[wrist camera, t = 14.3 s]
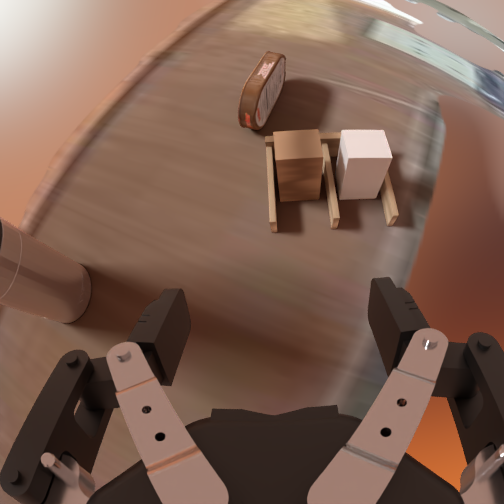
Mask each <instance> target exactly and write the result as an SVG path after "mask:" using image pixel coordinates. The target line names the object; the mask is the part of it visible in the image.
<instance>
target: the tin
mask: <svg viewBox="0 0 504 504" xmlns="http://www.w3.org/2000/svg"><path fill="white" fill-rule="evenodd" d="M285 60H286V58H285V56H284V55H283V54H279V53H273V52H270V51H267V52H266V53H265V54H264V55H263V57H262V58H261V60H260V61H259V63H258V64H257V66H256V67H255V68H254V70H253V72H252V73H251V75H250V76H249V78H248V79H247V81H246V82H245V84H244V87H243V89H242V92H241V95H240V99H239V106H238V120H239V124H240V126H241V127H243V128H245V127H246V128H250V129H255V130H259V129H261V128H262V127H263V126H264V125H265V123H266V121H267V119H268V117H269V115H270V113H271V111H272V109H273V108H274V106H275V104H276V102H277V100H278V98H279V96H280V93H281V91H282V88H283V85H284V81H285Z"/></svg>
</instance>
